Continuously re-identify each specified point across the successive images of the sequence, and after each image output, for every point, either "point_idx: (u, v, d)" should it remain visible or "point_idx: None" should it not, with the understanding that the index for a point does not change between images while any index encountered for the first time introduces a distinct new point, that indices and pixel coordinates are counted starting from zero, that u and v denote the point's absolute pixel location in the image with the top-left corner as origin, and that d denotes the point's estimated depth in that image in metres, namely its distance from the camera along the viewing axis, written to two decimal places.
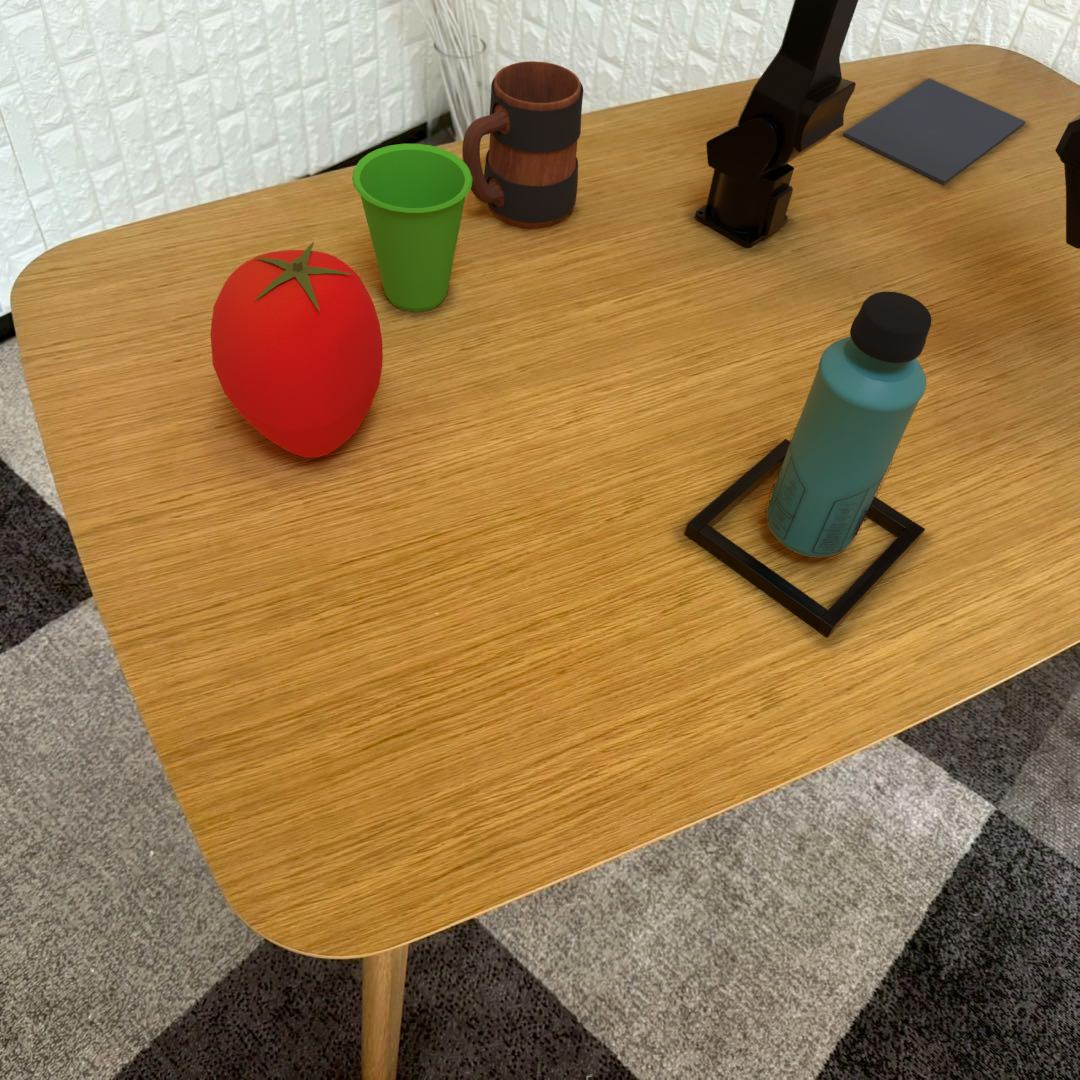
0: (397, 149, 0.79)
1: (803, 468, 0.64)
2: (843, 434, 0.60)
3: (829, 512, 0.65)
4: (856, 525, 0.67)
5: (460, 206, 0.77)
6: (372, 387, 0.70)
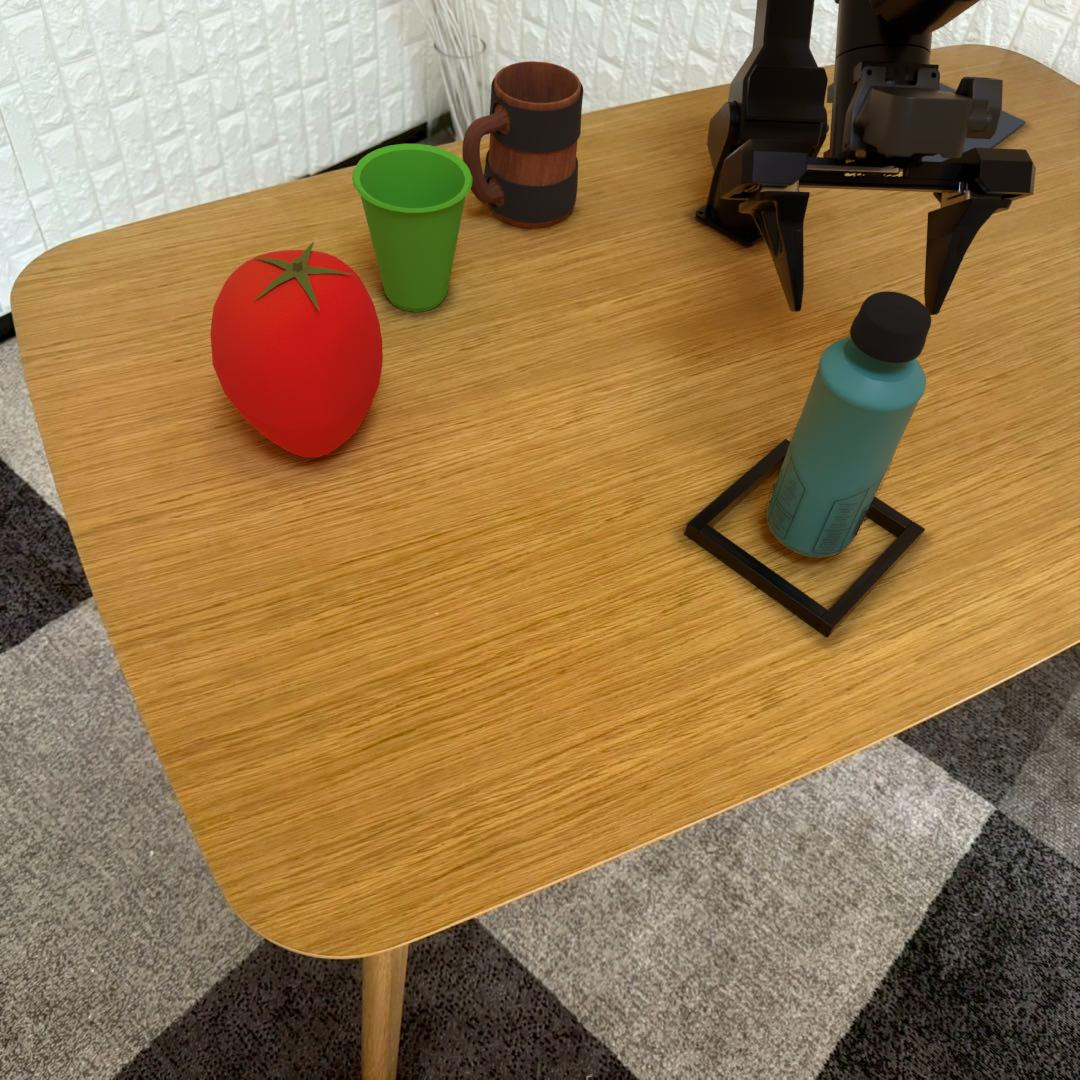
0: (397, 149, 0.79)
1: (803, 468, 0.64)
2: (843, 434, 0.60)
3: (829, 512, 0.65)
4: (856, 525, 0.67)
5: (460, 206, 0.77)
6: (372, 387, 0.70)
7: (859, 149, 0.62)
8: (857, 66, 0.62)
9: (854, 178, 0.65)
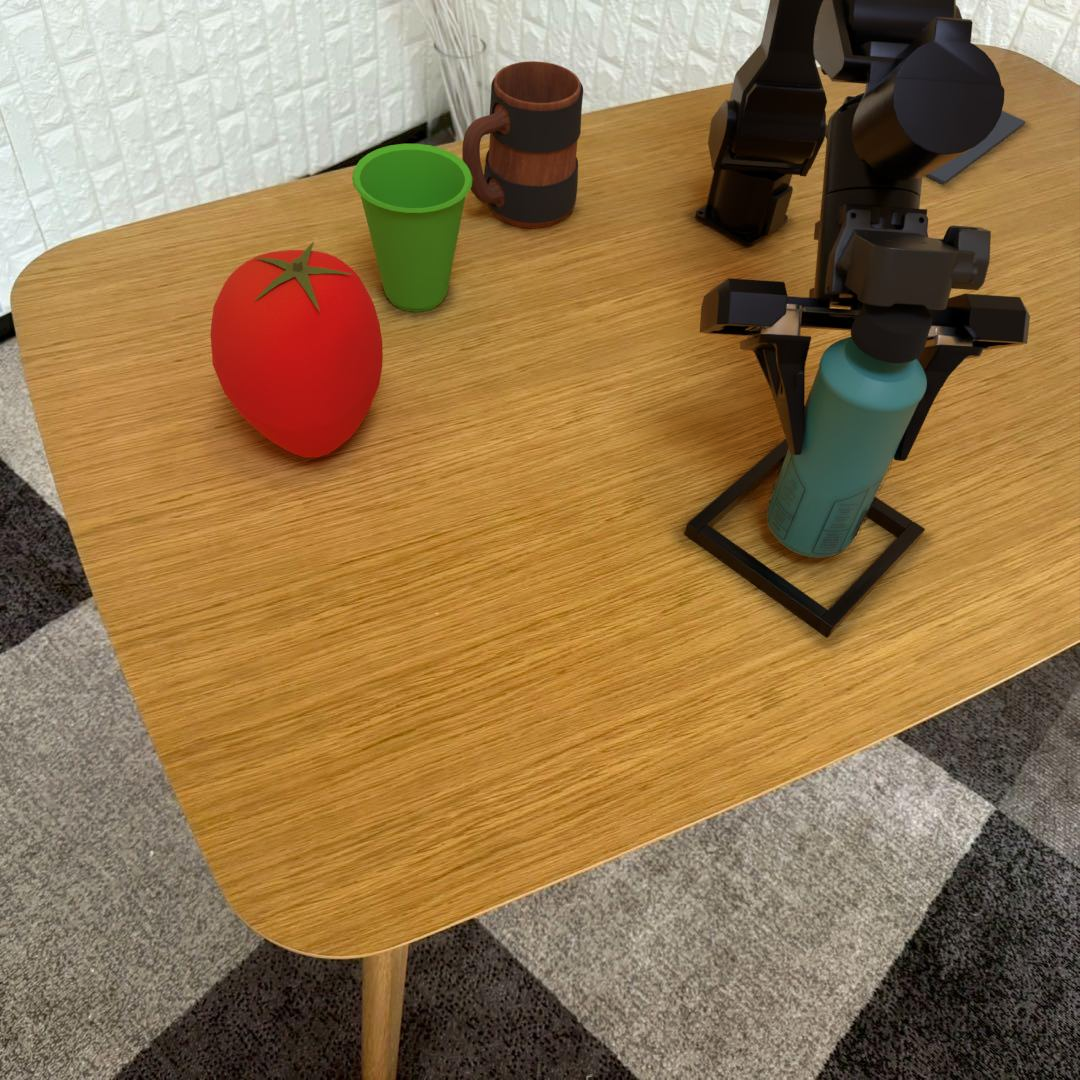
0: (397, 149, 0.79)
1: (803, 468, 0.64)
2: (843, 434, 0.60)
3: (829, 512, 0.65)
4: (856, 525, 0.67)
5: (460, 206, 0.77)
6: (372, 387, 0.70)
7: (842, 293, 0.59)
8: (842, 208, 0.59)
9: (838, 319, 0.62)
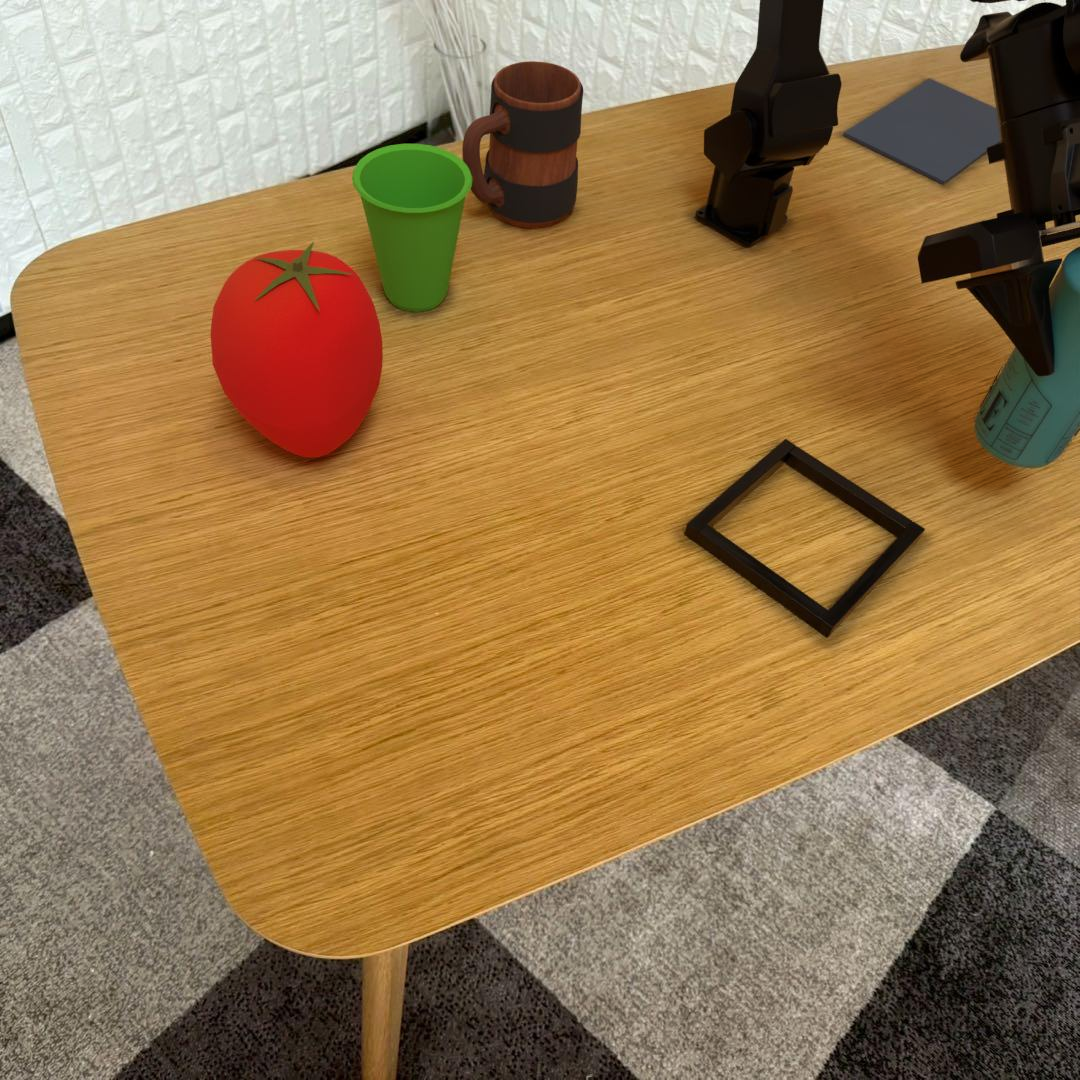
0: (397, 149, 0.79)
1: (1049, 386, 0.65)
2: None
3: (1071, 420, 0.67)
4: None
5: (460, 206, 0.77)
6: (372, 387, 0.70)
7: (1077, 208, 0.60)
8: (1051, 126, 0.60)
9: (1054, 235, 0.63)
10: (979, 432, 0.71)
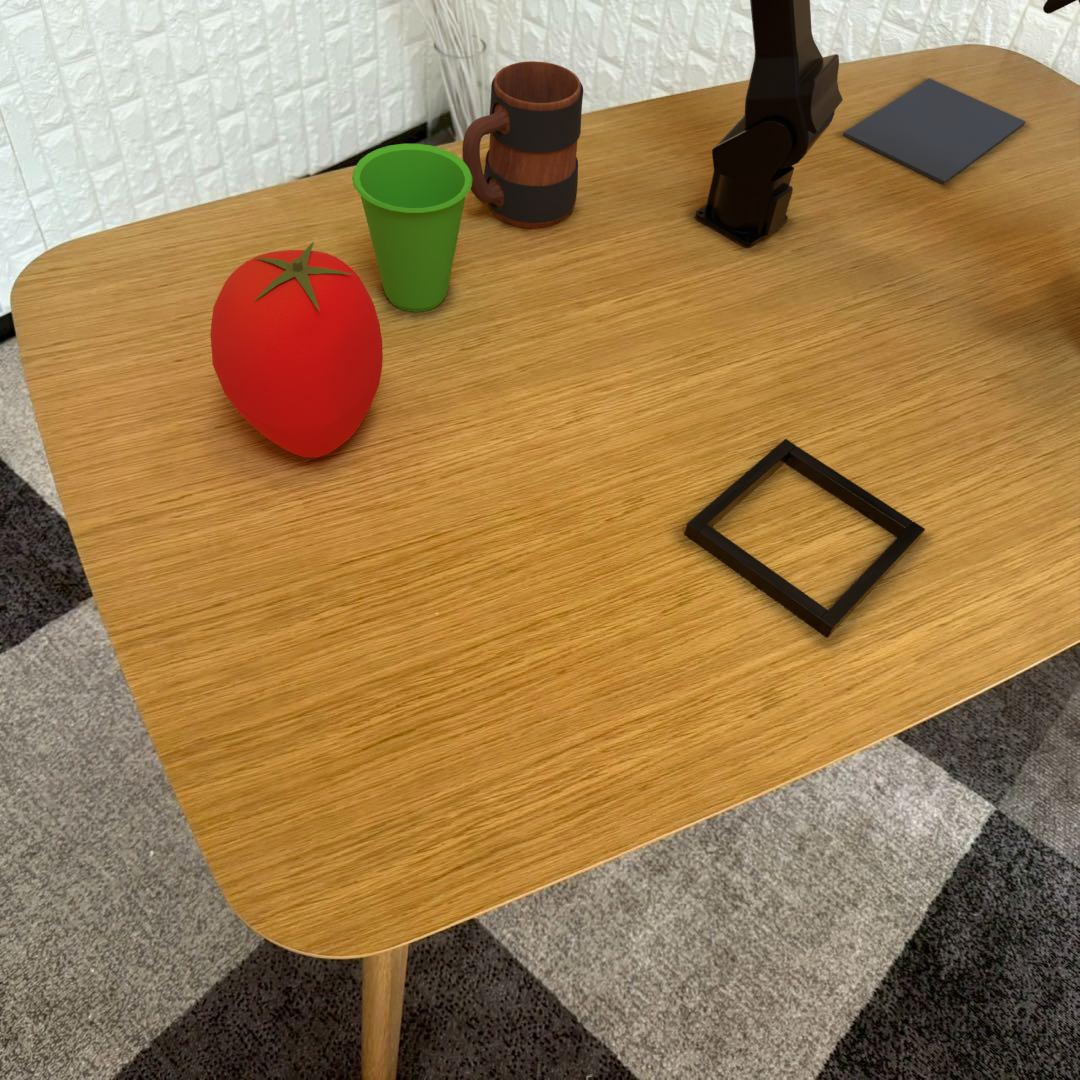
0: (397, 149, 0.79)
1: None
2: None
3: None
4: None
5: (460, 206, 0.77)
6: (372, 387, 0.70)
7: None
8: None
9: None
10: None
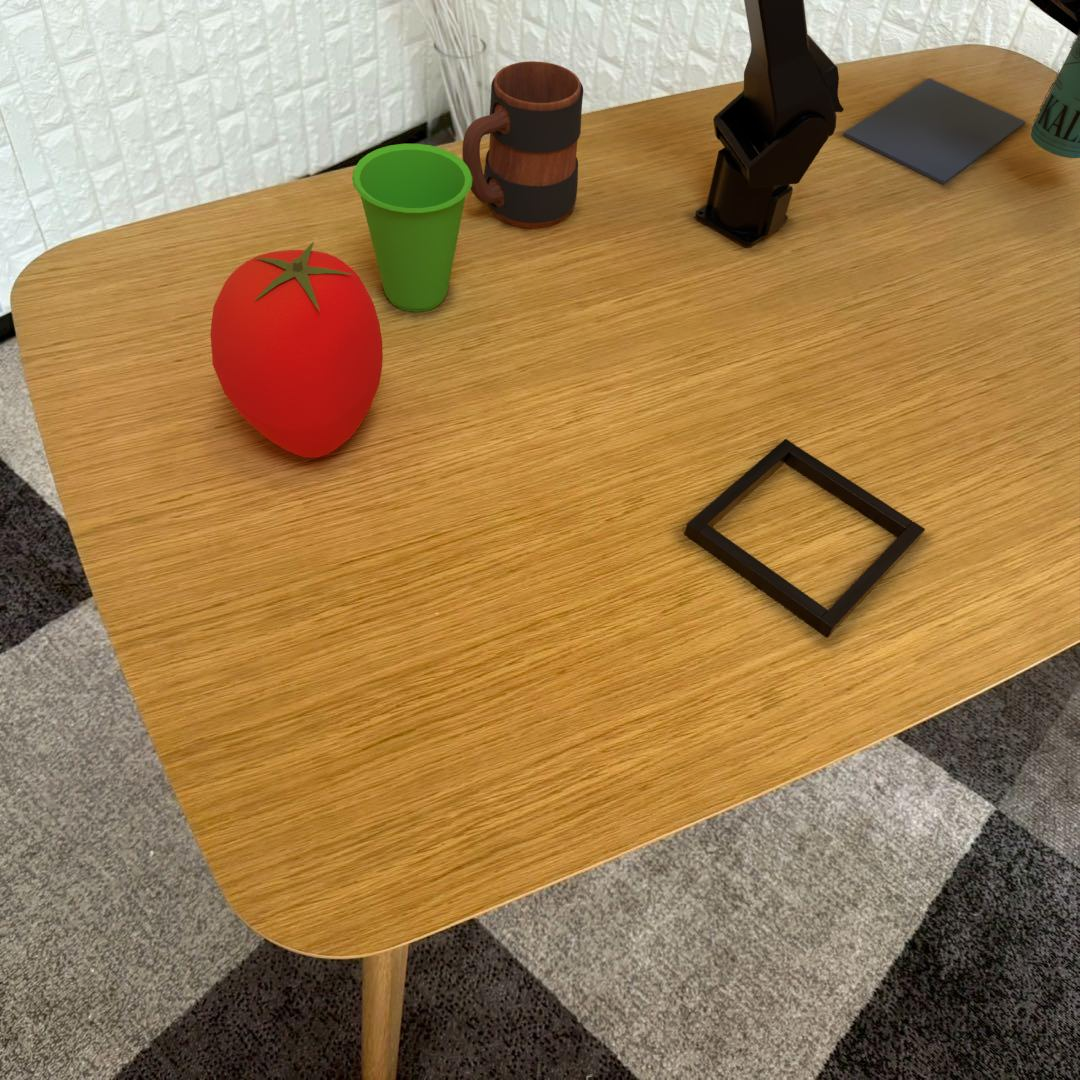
0: (397, 149, 0.79)
1: None
2: None
3: None
4: None
5: (460, 206, 0.77)
6: (372, 387, 0.70)
7: None
8: None
9: None
10: (1074, 152, 0.96)
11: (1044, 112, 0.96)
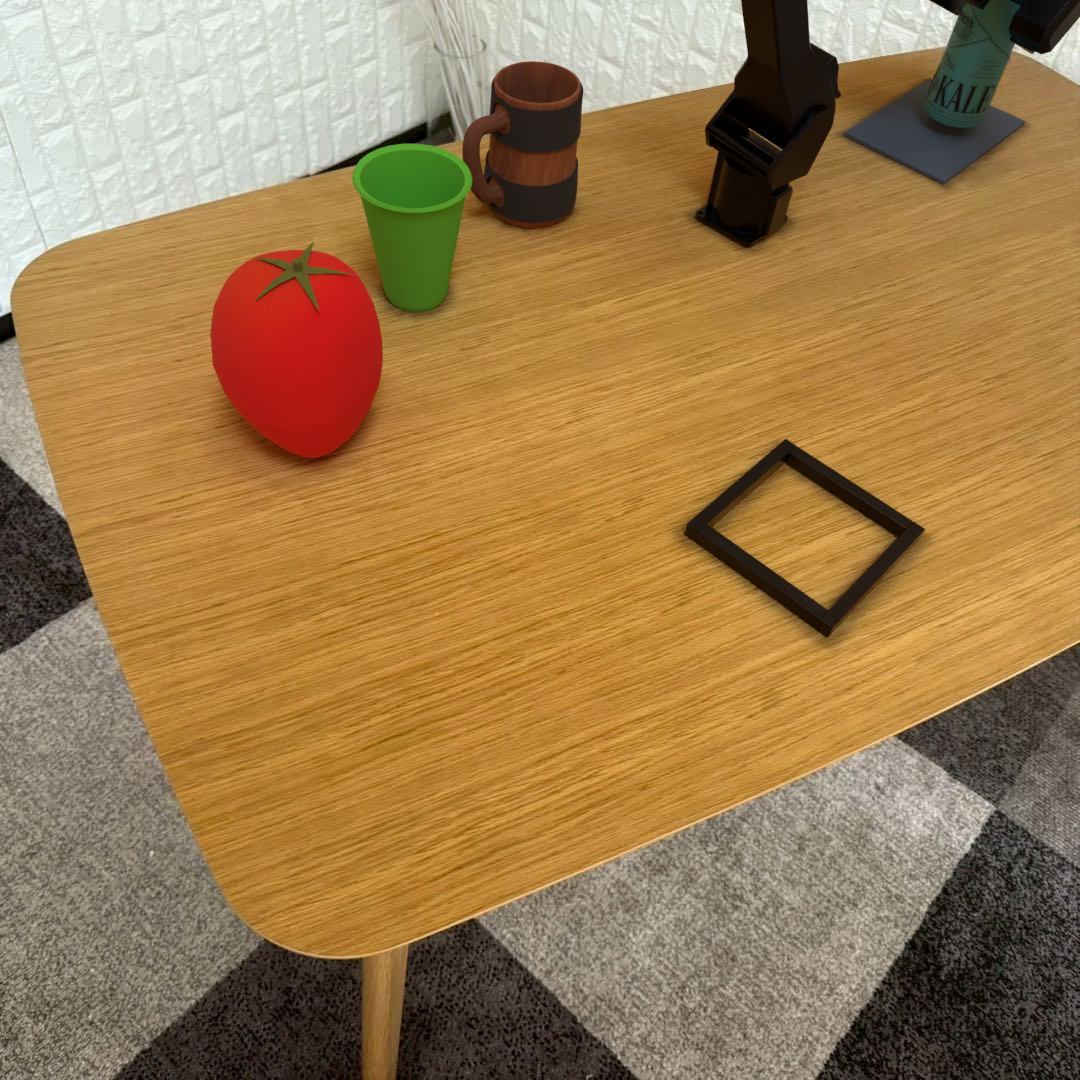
0: (397, 149, 0.79)
1: None
2: None
3: None
4: None
5: (460, 206, 0.77)
6: (372, 387, 0.70)
7: None
8: None
9: None
10: (971, 122, 1.05)
11: (939, 91, 1.04)
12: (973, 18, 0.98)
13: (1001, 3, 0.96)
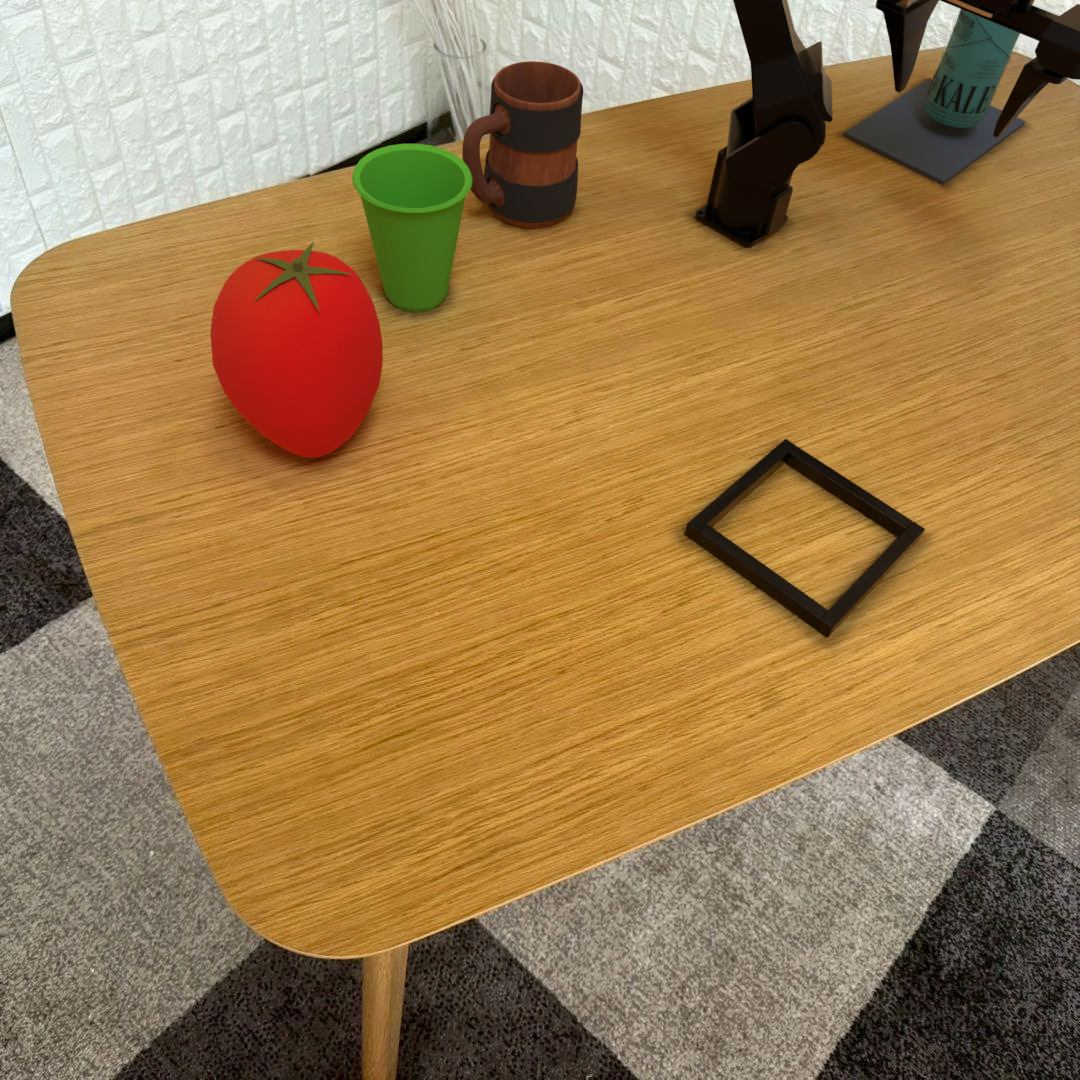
0: (397, 149, 0.79)
1: None
2: None
3: None
4: None
5: (460, 206, 0.77)
6: (372, 387, 0.70)
7: None
8: None
9: (1008, 15, 0.78)
10: (971, 122, 1.05)
11: (939, 91, 1.04)
12: (974, 18, 0.98)
13: None
